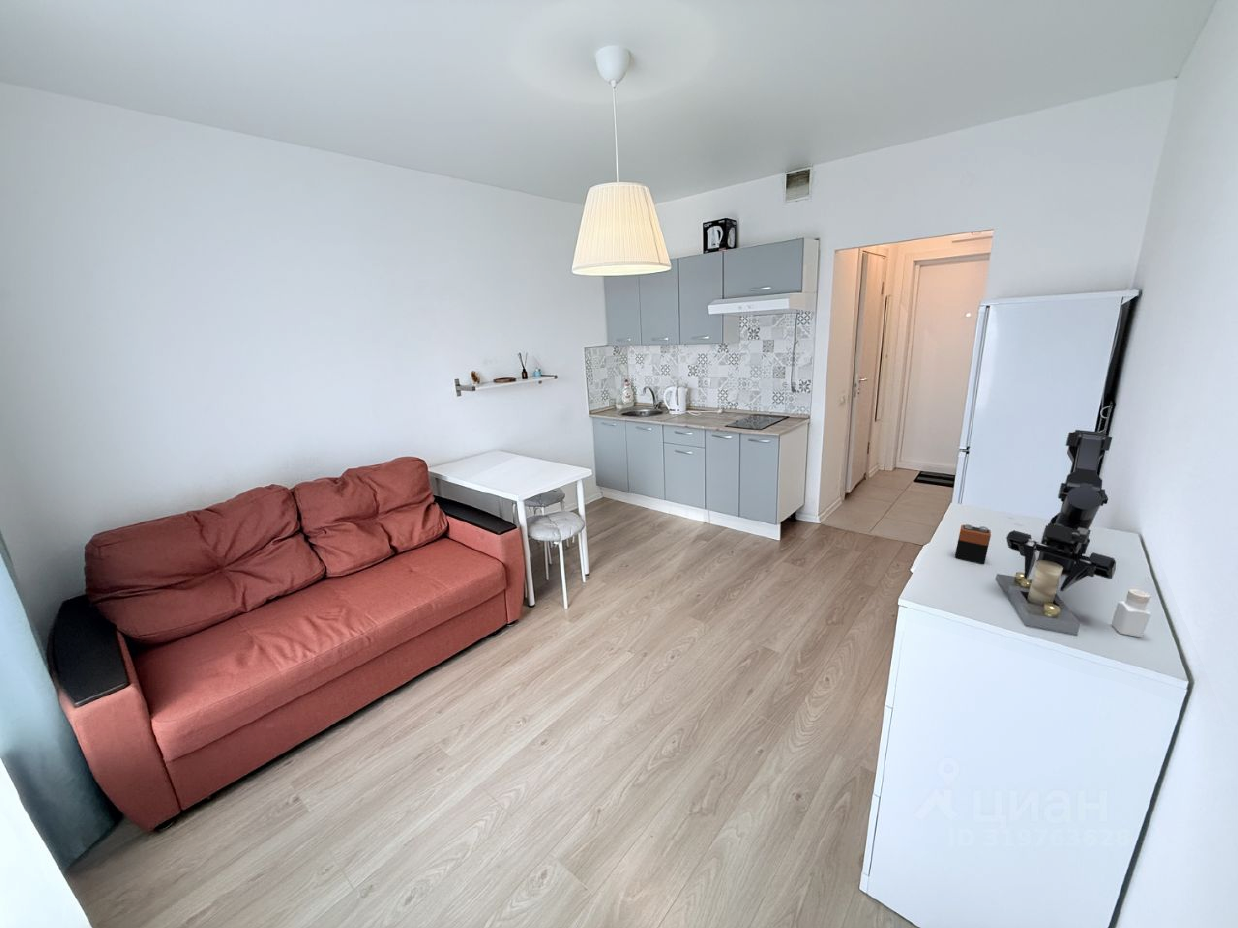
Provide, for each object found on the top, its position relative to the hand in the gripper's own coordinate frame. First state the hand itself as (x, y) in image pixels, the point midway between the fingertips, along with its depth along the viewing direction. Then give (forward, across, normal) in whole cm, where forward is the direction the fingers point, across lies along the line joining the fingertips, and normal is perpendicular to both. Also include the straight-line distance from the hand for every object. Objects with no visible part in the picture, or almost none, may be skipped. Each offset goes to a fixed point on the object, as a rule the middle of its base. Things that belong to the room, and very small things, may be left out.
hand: (1043, 584), depth 109 cm
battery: (-7, -20, +18) cm, 28 cm away
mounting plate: (+3, -2, +8) cm, 9 cm away
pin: (+4, 0, +6) cm, 8 cm away
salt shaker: (0, +14, +11) cm, 18 cm away
